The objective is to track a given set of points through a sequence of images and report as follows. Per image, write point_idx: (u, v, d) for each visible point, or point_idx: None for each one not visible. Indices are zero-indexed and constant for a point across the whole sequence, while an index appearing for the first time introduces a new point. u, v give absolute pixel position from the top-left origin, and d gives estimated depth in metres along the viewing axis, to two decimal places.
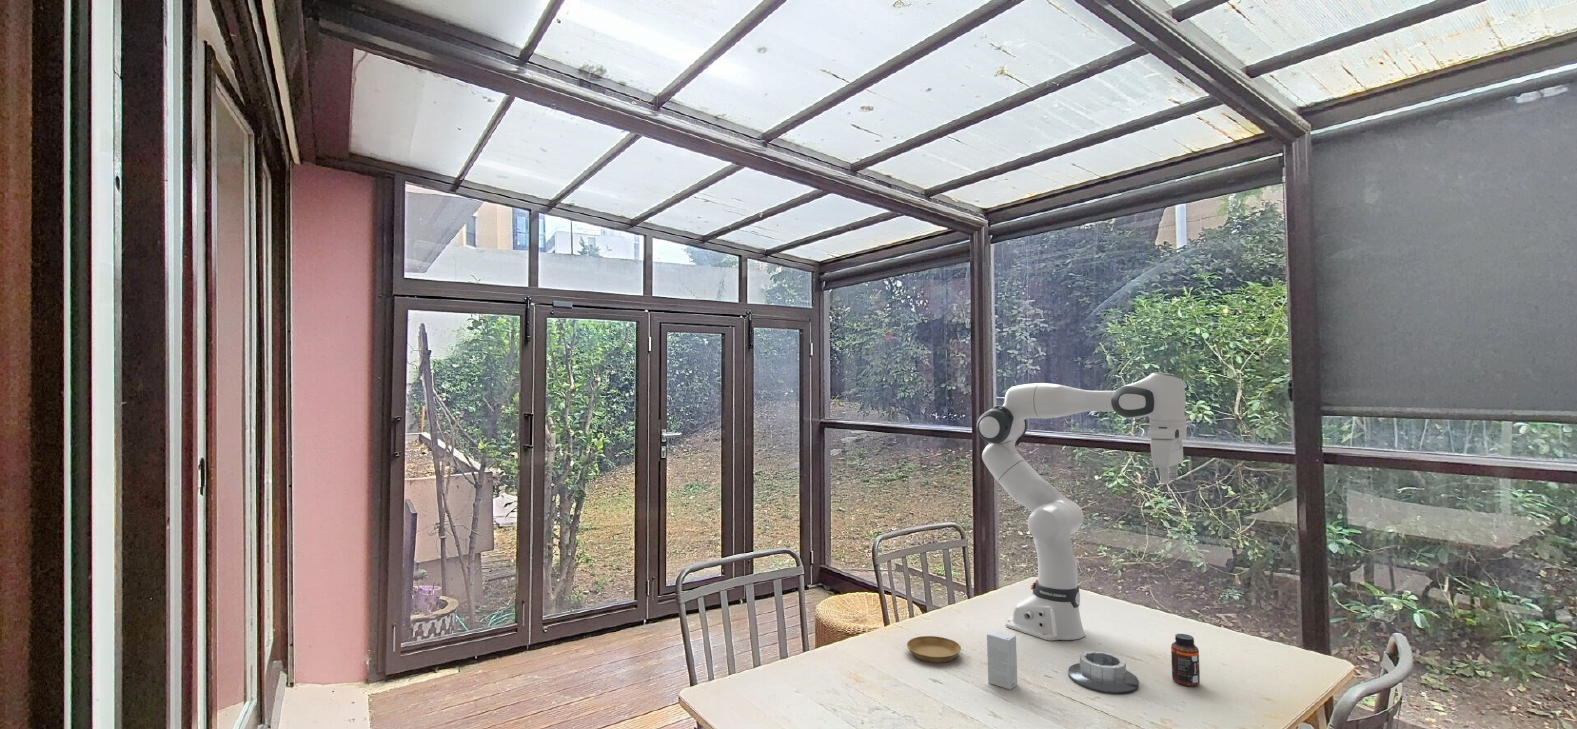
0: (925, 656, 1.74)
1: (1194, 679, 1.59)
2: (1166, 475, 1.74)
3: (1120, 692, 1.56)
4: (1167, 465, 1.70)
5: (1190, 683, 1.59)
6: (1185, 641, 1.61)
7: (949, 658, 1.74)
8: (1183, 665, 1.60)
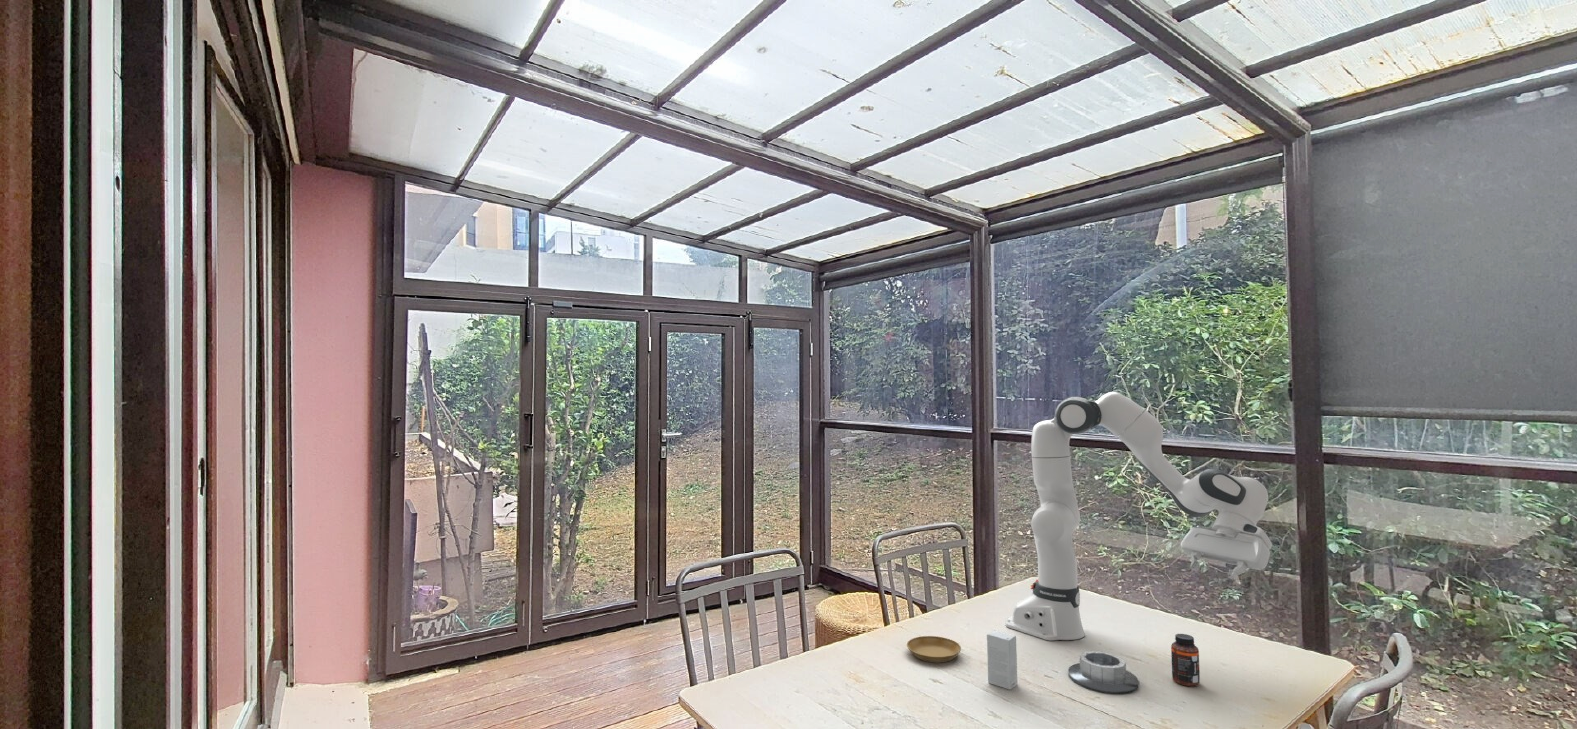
0: (925, 656, 1.74)
1: (1194, 679, 1.59)
2: (1240, 572, 1.65)
3: (1120, 692, 1.56)
4: None
5: (1190, 683, 1.59)
6: (1185, 641, 1.61)
7: (949, 658, 1.74)
8: (1183, 665, 1.60)
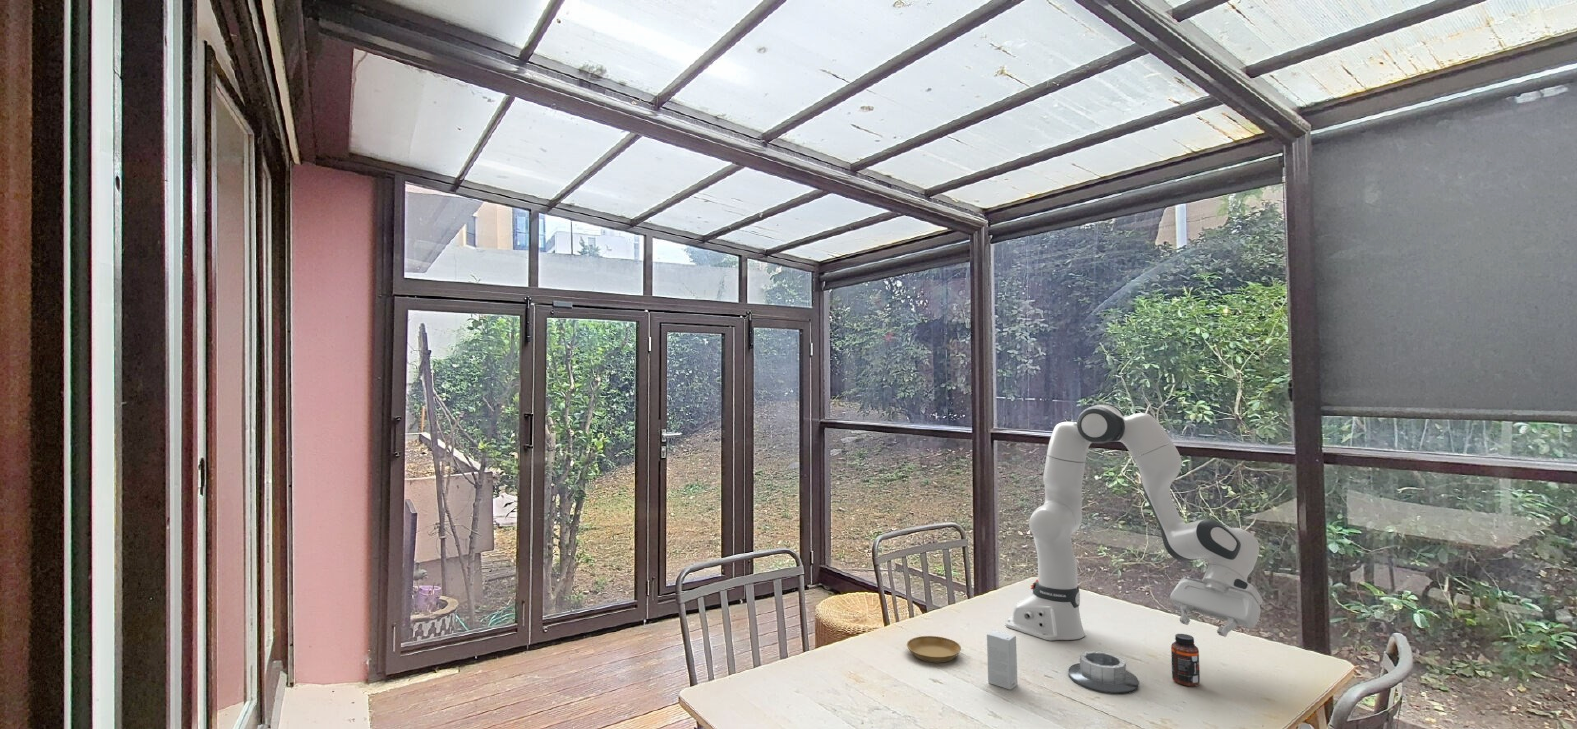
0: (925, 656, 1.74)
1: (1194, 679, 1.59)
2: (1230, 629, 1.62)
3: (1120, 692, 1.56)
4: (1253, 626, 1.60)
5: (1190, 683, 1.59)
6: (1185, 641, 1.61)
7: (949, 658, 1.74)
8: (1183, 665, 1.60)
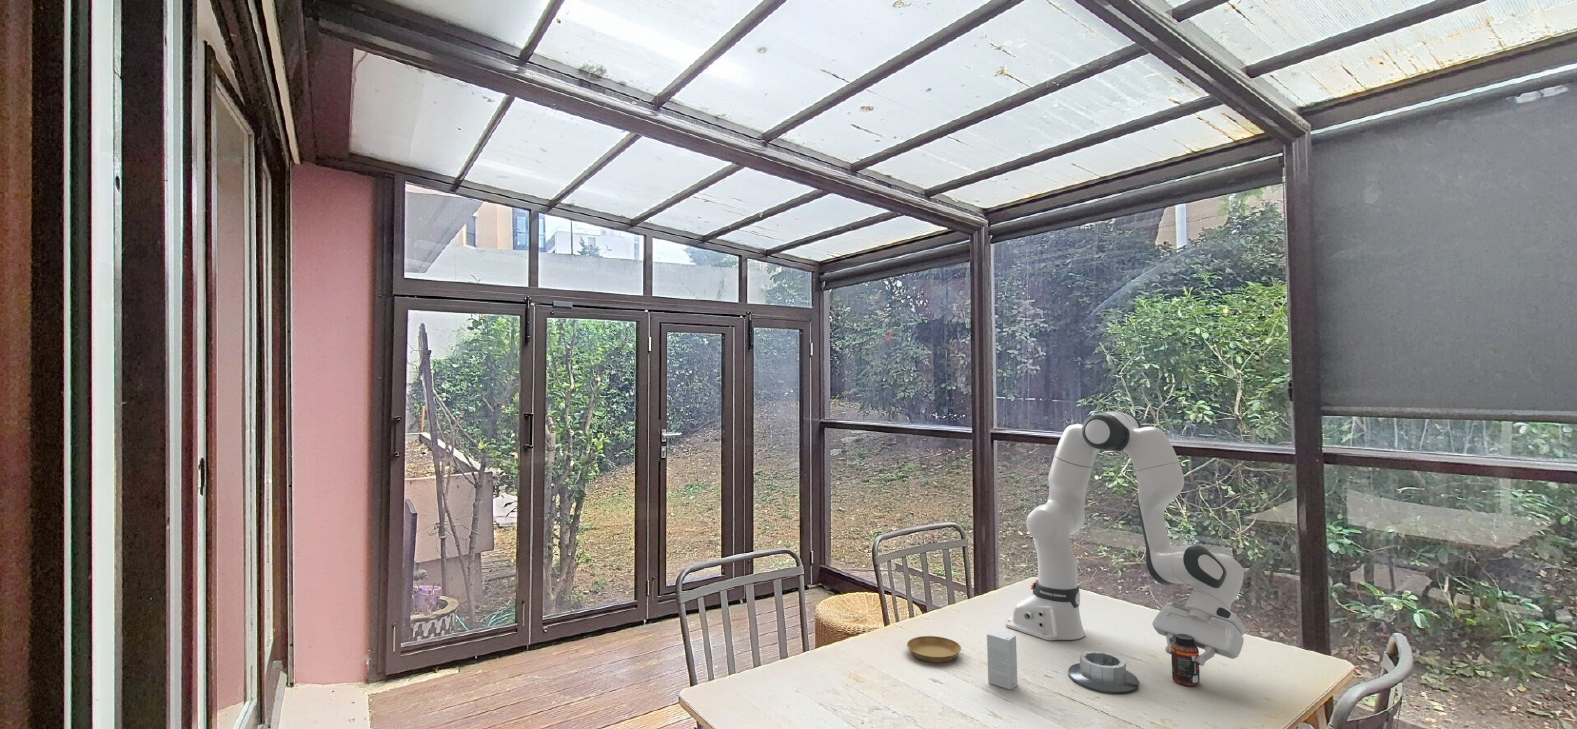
0: (925, 656, 1.74)
1: (1194, 678, 1.59)
2: (1207, 658, 1.59)
3: (1120, 692, 1.56)
4: (1235, 657, 1.56)
5: (1190, 683, 1.59)
6: (1185, 641, 1.61)
7: (949, 658, 1.74)
8: (1183, 664, 1.60)
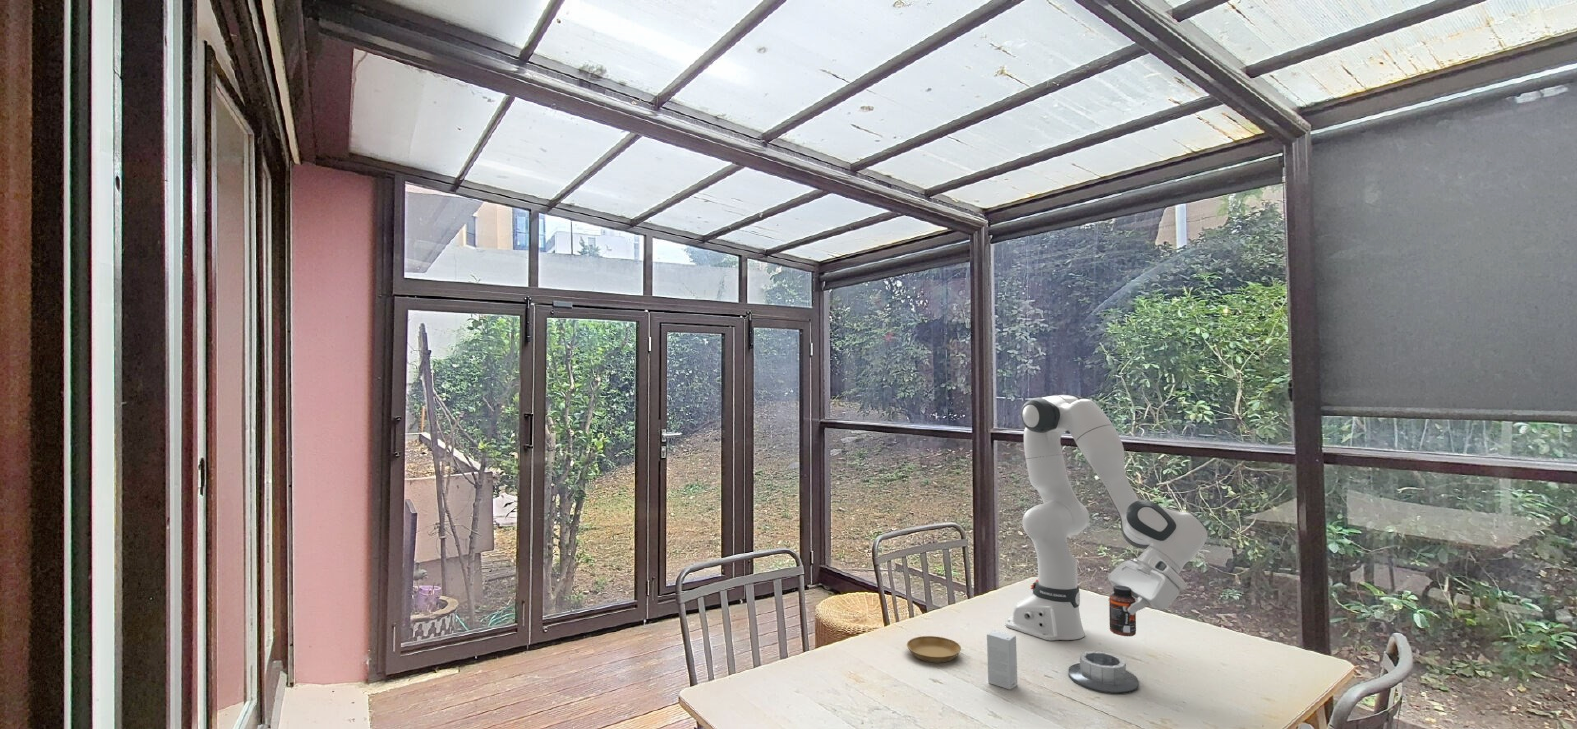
0: (925, 656, 1.74)
1: (1125, 628, 1.60)
2: (1139, 608, 1.59)
3: (1120, 692, 1.56)
4: (1162, 609, 1.54)
5: (1120, 632, 1.61)
6: (1119, 591, 1.62)
7: (949, 658, 1.74)
8: (1115, 613, 1.62)
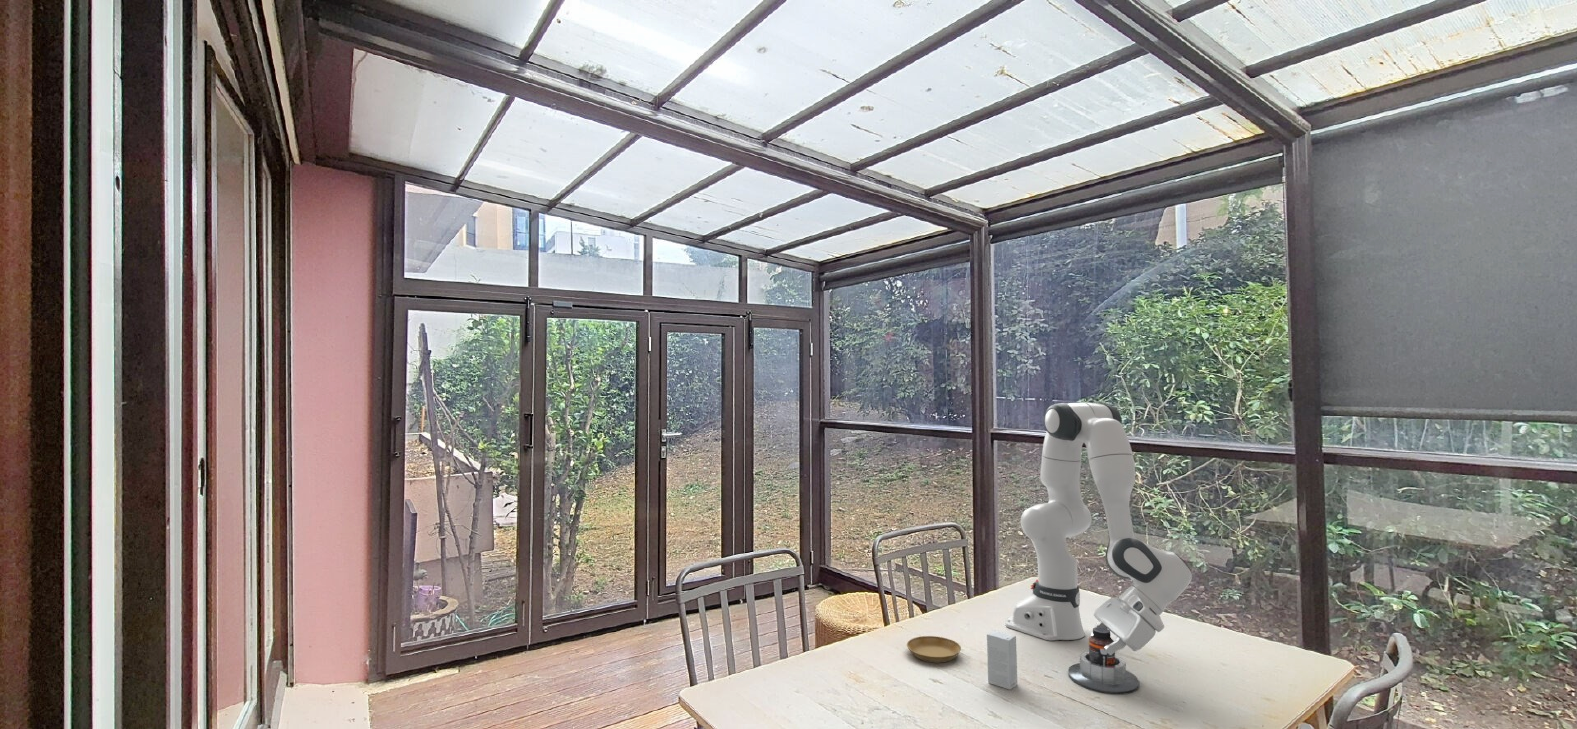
0: (925, 656, 1.74)
1: None
2: (1116, 649, 1.59)
3: (1120, 692, 1.56)
4: (1136, 650, 1.55)
5: None
6: (1097, 634, 1.63)
7: (949, 658, 1.74)
8: (1093, 656, 1.63)
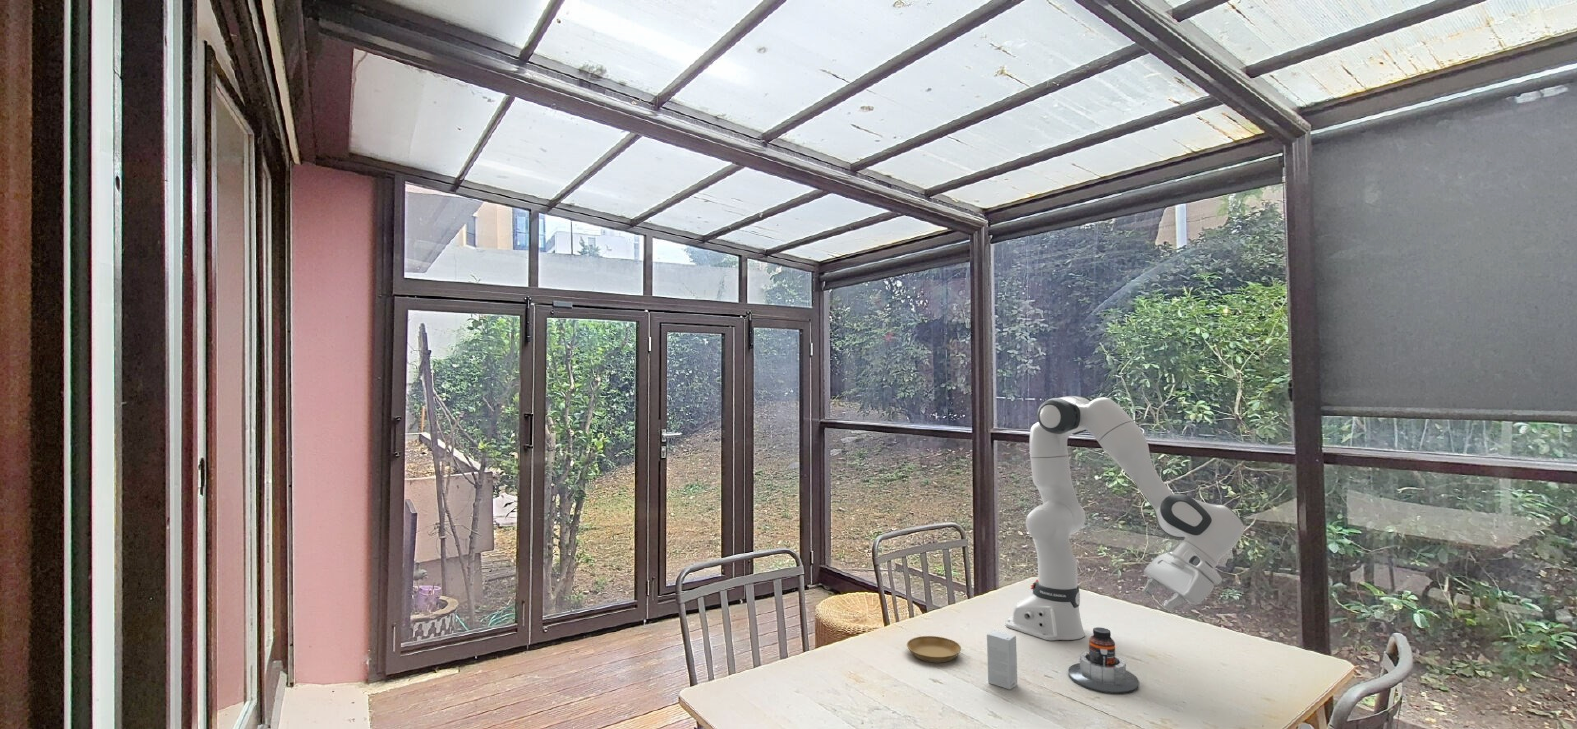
0: (925, 656, 1.74)
1: None
2: (1175, 604, 1.59)
3: (1120, 692, 1.56)
4: None
5: None
6: (1097, 634, 1.63)
7: (949, 658, 1.74)
8: (1093, 656, 1.63)
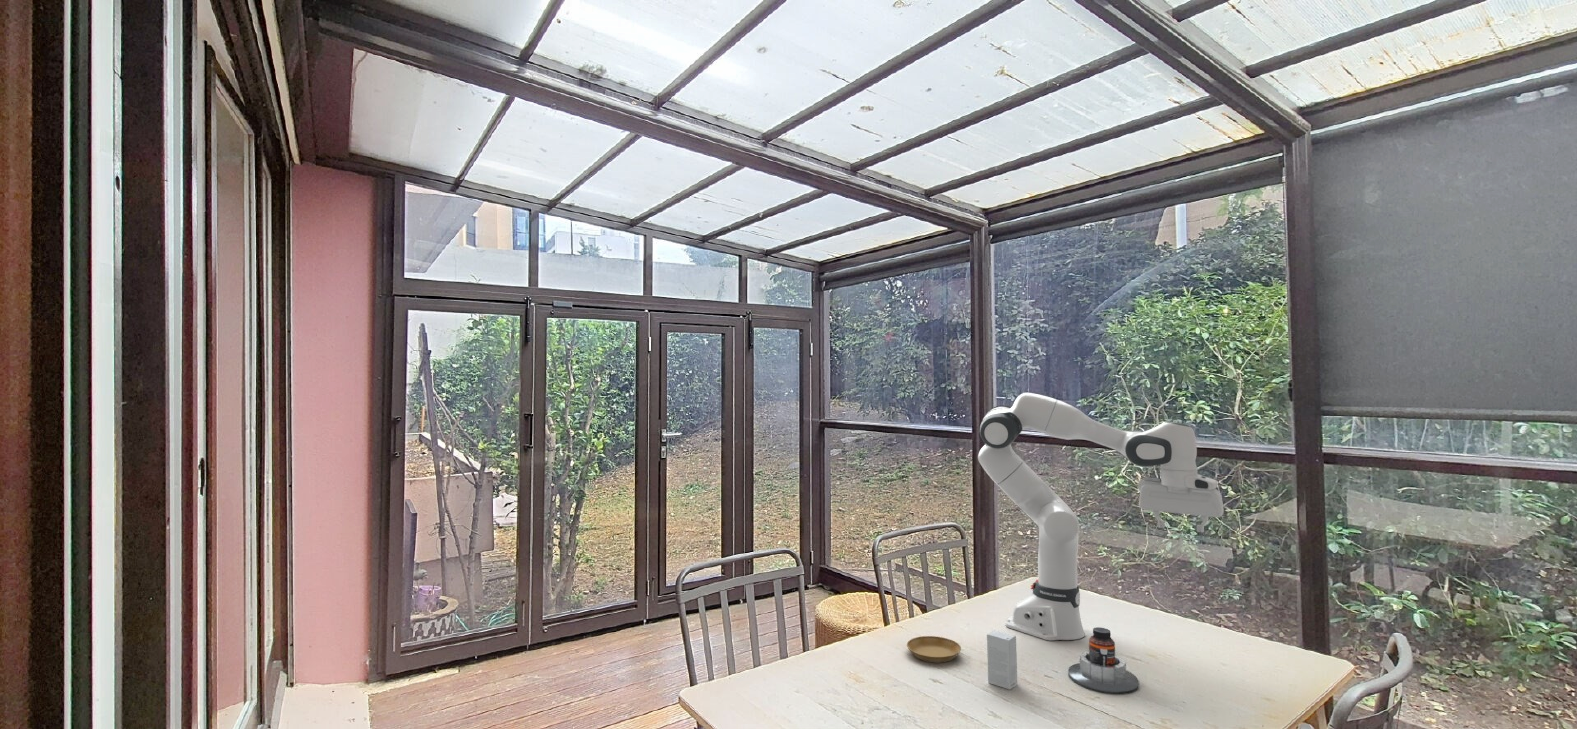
0: (925, 656, 1.74)
1: None
2: (1205, 523, 1.78)
3: (1120, 692, 1.56)
4: None
5: None
6: (1097, 634, 1.63)
7: (949, 658, 1.74)
8: (1093, 656, 1.63)
